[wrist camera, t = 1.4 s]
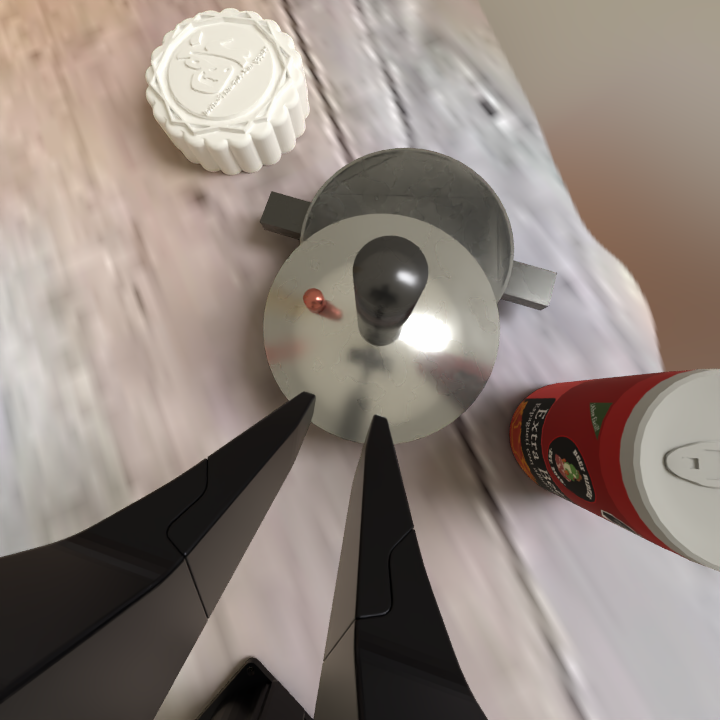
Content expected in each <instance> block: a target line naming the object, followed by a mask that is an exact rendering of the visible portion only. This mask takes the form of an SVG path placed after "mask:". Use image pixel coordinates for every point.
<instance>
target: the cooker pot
mask: <svg viewBox="0 0 720 720" xmlns="http://www.w3.org/2000/svg"><path fill="white" fill-rule="evenodd" d="M367 214H395V215H402V216H407V217H411V218H415V219H418V220H421V221H424V222H426V223H429V224H431V225H433V226H435V227H437V228H439V229H441V230H443V231H444V232H446V233H447V234H449V235H450V236H452V237H453V238H454V239H456V240H457V241H458V242H459V243H460V244H461V245H463V246H464V247H465V248H466V249H467V250H468V251H469V253H470V254H471V255H472V256H473V257H474V258H475V259H476V261H477V262H478V264H479V265H480V267H481V268H482V270H483V271H484V273H485V275H486V277H487V279H488V281H489V283H490V285H491V287H492V290H493V293H494V296H495V299H496V303H498V302H499V301H500V299H503V300H507V301H510V302H514V303H517V304H520V305H524V306H527V307H531V308H534V309H537V310H542V309H544V308H546V307H548V306H549V303H550V299H551V295H552V291H553V287H554V283H555V279H556V275H557V273H556V272H552V271H549V270H545V269H542V268H538V267H535V266H531V265H528V264H524V263H521V262H517V261H514V260H513V258H514V243H513V234H512V229H511V225H510V221H509V218H508V216H507V213H506V211H505V208H504V207H503V205H502V203H501V201H500V199H499V198H498V196H497V195H496V193H495V192H494V191H493V189H492V188H491V187H490V186H489V185H488V183H487V182H486V181H485V180H484V179H483V178H482V177H481V176H479V175H478V174H477V173H476V172H475V171H473V170H472V169H471V168H469V167H468V166H466V165H464V164H463V163H461V162H460V161H457V160H455V159H453V158H451V157H449V156H446V155H443V154H440V153H437V152H434V151H429V150H424V149H415V148H395V149H388V150H382V151H378V152H375V153H371V154H368V155H366V156H363V157H361V158H358V159H356V160H354V161H353V162H351V163H349V164H347V165H346V166H344V167H343V168H341V169H340V170H339V171H337V172H336V173H335V174H334V175H333V176H332V177H331V178H330V179H329V180H327V181H326V182H325V184H324V185H323V186H322V187H321V189H320V190H319V191H318V192H317V194H316V196H315V197H314V199H313V200H312V202H307V201H304V200H300V199H297V198H293V197H290V196H286V195H283V194H279V193H276V192H272V191H271V194H270V197H269V199H268V202H267V204H266V207H265V210H264V212H263V215H262V218H261V220H260V223H261V224H262V226H263V228H264V229H265V230H268V231H272V232H275V233H279V234H282V235H285V236H289V237H292V238H296V239H299V240H300V245H301V244H302V243H303V242H304V241H305V240H307V239H308V238H309V237H311V236H312V235H313V234H315V233H316V232H318V231H320V230H321V229H323V228H325V227H327V226H329V225H331V224H333V223H336V222H338V221H341V220H344V219H347V218H351V217H354V216H360V215H367Z"/></svg>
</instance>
